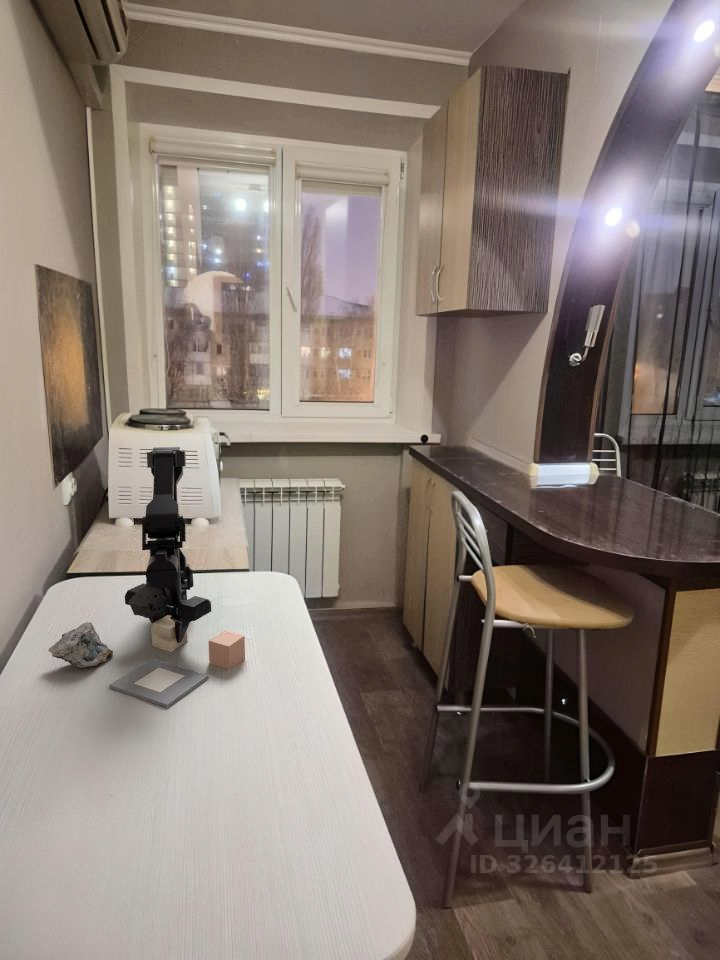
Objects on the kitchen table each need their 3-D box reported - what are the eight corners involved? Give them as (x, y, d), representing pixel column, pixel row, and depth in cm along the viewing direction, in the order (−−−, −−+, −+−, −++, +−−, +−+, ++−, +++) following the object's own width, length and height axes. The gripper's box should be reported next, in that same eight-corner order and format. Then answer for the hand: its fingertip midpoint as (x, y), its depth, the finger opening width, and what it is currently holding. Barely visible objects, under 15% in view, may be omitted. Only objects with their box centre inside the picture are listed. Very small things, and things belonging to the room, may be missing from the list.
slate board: (152, 660, 126) (152, 657, 126) (208, 678, 120) (208, 674, 120) (109, 687, 116) (109, 684, 116) (167, 707, 110) (167, 704, 110)
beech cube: (169, 636, 136) (167, 614, 135) (187, 641, 134) (186, 619, 133) (152, 646, 132) (150, 624, 131) (170, 651, 130) (169, 629, 128)
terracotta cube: (225, 652, 130) (224, 630, 129) (245, 658, 128) (244, 635, 126) (209, 663, 125) (208, 640, 124) (229, 669, 123) (228, 646, 122)
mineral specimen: (93, 690, 124) (79, 657, 131) (124, 660, 126) (109, 628, 132) (56, 673, 117) (43, 639, 124) (89, 642, 119) (75, 610, 125)
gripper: (101, 574, 126) (107, 645, 129) (173, 591, 118) (177, 667, 122) (142, 557, 136) (147, 624, 139) (211, 572, 128) (214, 643, 131)
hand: (169, 639), depth 133 cm, fingers closed on beech cube, 5 cm apart
